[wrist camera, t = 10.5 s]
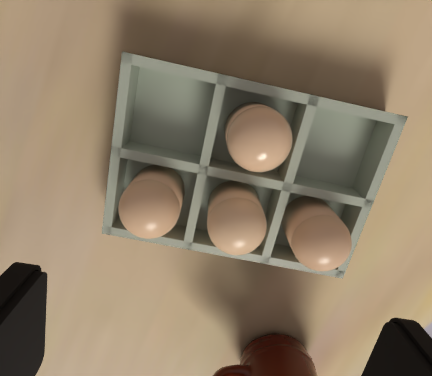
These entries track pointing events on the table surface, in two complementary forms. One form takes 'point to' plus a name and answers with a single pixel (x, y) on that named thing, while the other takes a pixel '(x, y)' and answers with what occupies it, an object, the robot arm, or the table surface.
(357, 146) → the carton
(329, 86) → the table surface
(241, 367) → the mug
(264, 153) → the egg
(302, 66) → the table surface
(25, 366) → the robot arm
